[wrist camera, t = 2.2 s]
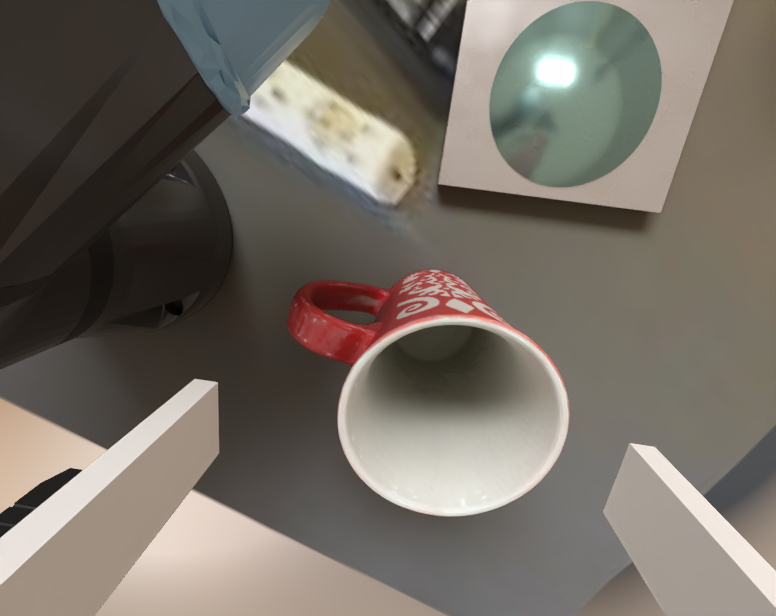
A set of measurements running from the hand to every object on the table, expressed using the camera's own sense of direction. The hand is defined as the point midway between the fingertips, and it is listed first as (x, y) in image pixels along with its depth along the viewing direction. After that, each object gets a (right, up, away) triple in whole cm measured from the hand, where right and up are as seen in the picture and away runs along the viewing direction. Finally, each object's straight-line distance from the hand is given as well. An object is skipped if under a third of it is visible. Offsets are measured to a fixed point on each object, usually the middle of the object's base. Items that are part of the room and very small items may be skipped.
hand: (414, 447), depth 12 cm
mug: (+1, +5, +15) cm, 16 cm away
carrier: (+10, +20, +9) cm, 25 cm away
